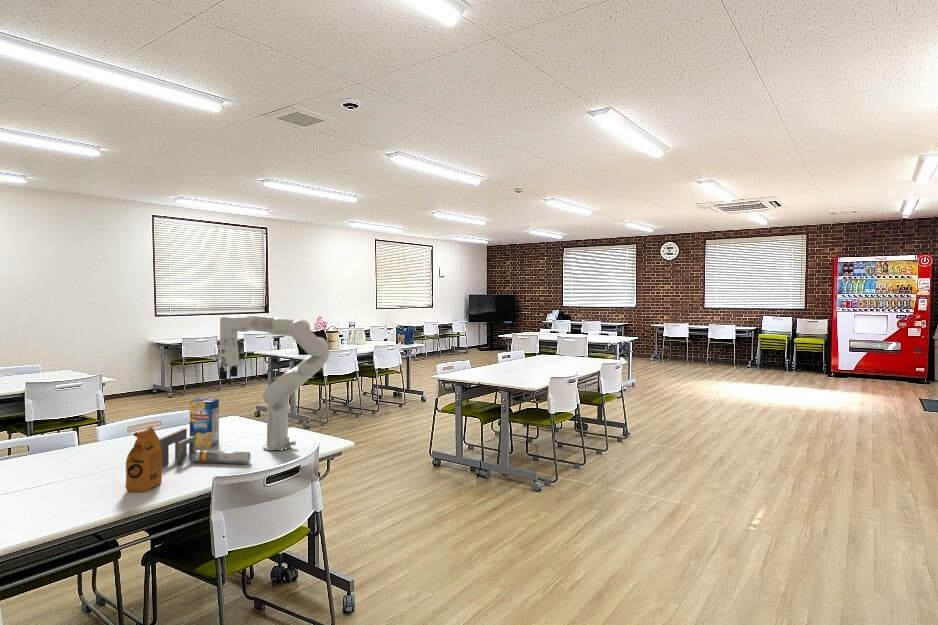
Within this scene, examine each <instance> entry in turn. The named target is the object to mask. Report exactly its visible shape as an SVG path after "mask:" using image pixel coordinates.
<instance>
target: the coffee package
mask: <svg viewBox="0 0 938 625" xmlns="http://www.w3.org/2000/svg"><path fill="white" fill-rule="evenodd" d="M133 437H136V440H135V443H134V444H133V447H131V449H130V451H128V452H129V453H128V454H127V457H126V459H125V489H126V491H127V492H129V491H130V492H134V491H135V492H136V491H138V492H140V493H145V492H144V491H147V492H149V491H150V490H151V489H152V488H157V487H158V486H159V485H160V484H161V483H162V479H163V478H162V477H163V476H162V471H163V469H162V468H163V467H162V452H161V444H160V440H159V436H158V435H157V433H156V432H155V429H154V428H153V426H147V429H146V430H143V431H137V432H134V434H133ZM156 486H157V487H156ZM148 490H149V491H148ZM135 492H134V493H135ZM136 493H137V492H136Z"/></svg>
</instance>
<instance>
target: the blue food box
mask: <svg viewBox="0 0 938 625" xmlns="http://www.w3.org/2000/svg"><path fill="white" fill-rule="evenodd" d="M191 436H195V448H214V447H216V446H218V445H219V444H220V399H219V398H194V399H192V400H190V401H189V437H191Z"/></svg>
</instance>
